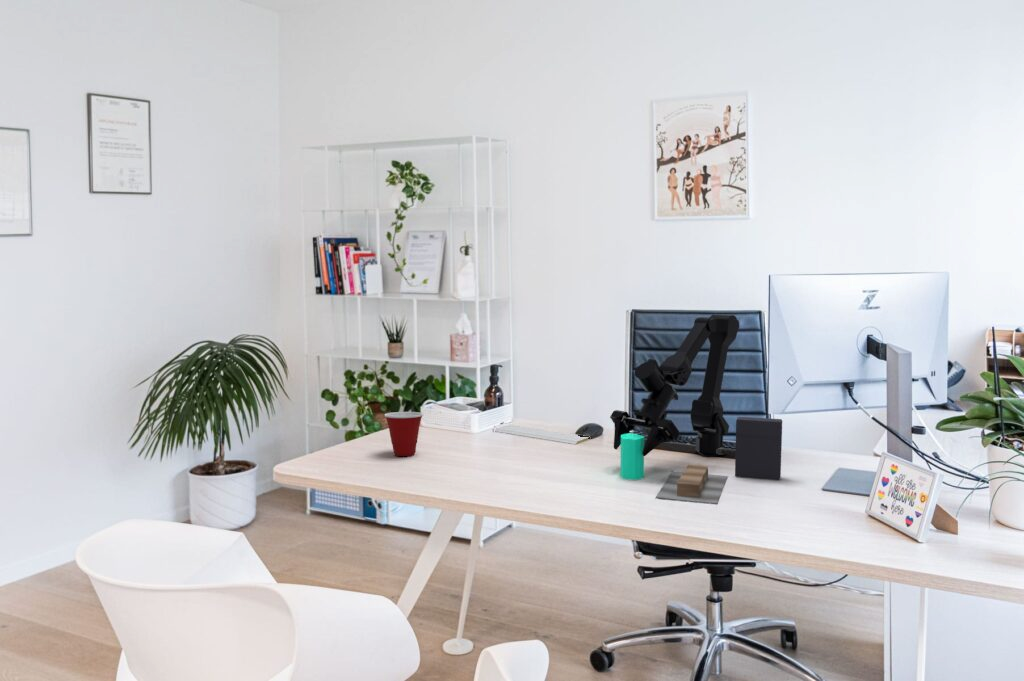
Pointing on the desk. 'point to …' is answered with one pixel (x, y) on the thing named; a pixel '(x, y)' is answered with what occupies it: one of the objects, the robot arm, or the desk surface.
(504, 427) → the baseboard
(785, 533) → the desk surface
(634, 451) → the candle
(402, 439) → the plastic cup
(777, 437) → the upright charcoal slab
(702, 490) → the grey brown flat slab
